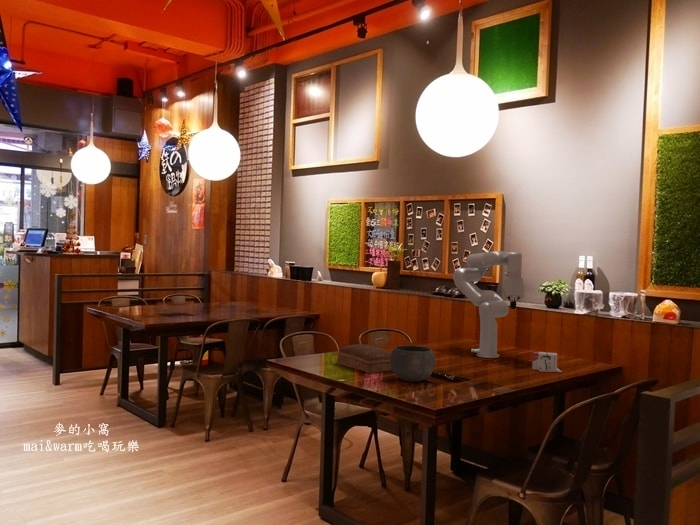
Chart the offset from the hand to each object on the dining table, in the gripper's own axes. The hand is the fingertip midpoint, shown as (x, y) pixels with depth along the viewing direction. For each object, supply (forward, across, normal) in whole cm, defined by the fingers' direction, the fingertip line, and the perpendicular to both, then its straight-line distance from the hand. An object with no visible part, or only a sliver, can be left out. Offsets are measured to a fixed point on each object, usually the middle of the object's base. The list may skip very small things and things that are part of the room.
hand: (513, 308), depth 329 cm
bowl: (+29, -56, -56) cm, 84 cm away
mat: (+29, +15, -17) cm, 37 cm away
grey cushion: (+30, -79, -28) cm, 88 cm away
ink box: (+25, +7, -18) cm, 31 cm away
